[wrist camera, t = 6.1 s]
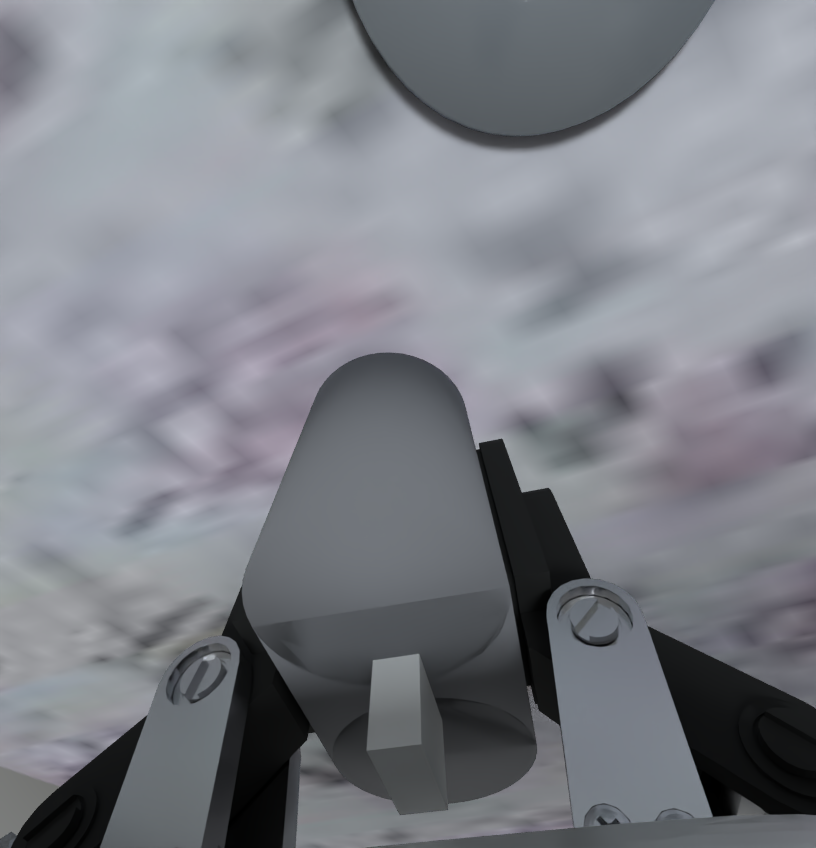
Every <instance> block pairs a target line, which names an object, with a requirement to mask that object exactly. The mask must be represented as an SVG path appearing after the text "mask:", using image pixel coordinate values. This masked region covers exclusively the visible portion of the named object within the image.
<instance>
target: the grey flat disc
mask: <svg viewBox="0 0 816 848" xmlns="http://www.w3.org/2000/svg"><path fill="white" fill-rule="evenodd" d="M352 1H353V3H354V6H355V8H356V11H357V14H358V16H359V18H360V20H361V22H362V24H363V26H364V28H365V30H366V32H367V34H368V36H369V38H370V40H371V42H372V43H373V45H374V46H375V48H376V49H377V51H378V52H379V54H380V55H381V57H382V58H383V60H384V61H385V63H386V64H387V66H388V67H389V68H390V70H391V71H392V72H393V73H394V74H395V75H396V77H397V78H398V79H399V80H400V81H401V82H402V84H403V85H404V86H405V87H406V88H407V89H408V90H409V91H410V92H412V93H413V94H414V95H415V96H416V97H417V98H418V99H419V100H421V101H422V102H423V103H424V104H425V105H427V106H428V107H430V108H431V109H433V110H434V111H436V112H437V113H439V114H440V115H442V116H443V117H445V118H447V119H449V120H451V121H453V122H455V123H457V124H460V125H462V126H464V127H466V128H469V129H473V130H476V131H480V132H483V133H487V134H493V135H501V136H509V137H516V136H536V135H541V134H546V133H552V132H557V131H560V130H563V129H566V128H569V127H572V126H574V125H577V124H580V123H583V122H586V121H588V120H590V119H592V118H594V117H596V116H598V115H600V114H602V113H604V112H606V111H608V110H610V109H612V108H613V107H615V106H616V105H618V104H619V103H621V102H622V101H624V100H625V99H627V98H628V97H630V96H631V95H633V94H634V93H635V92H636V91H638V90H639V89H640V88H641V87H642V86H644V85H645V84H646V83H647V82H648V81H649V80H651V79H652V78H653V77H654V76H655V75H656V74H657V73H658V72H659V71H660V70H661V69H662V68H663V67H664V66H665V65H666V64H667V63H668V62H669V61H670V60H671V59H672V58H673V57H674V56H675V55H676V54H677V53H678V51H679V50H680V49H681V47H682V46H683V45H684V44H685V42H686V41H687V40H688V39H689V37H690V36H691V35H692V33H693V32H694V31H695V30H696V28H697V27H698V26H699V24H700V23H701V21H702V20H703V18H704V16H705V15H706V13H707V12H708V10H709V9H710V7H711V6H712V4H713V2H714V1H715V0H352Z"/></svg>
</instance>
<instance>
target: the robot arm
mask: <svg viewBox="0 0 816 848" xmlns="http://www.w3.org/2000/svg"><path fill="white" fill-rule="evenodd" d="M479 448H480V449H479V450H476V452H477V456H478V460H479V464H480V468H481V472H482V477H483V481H484V485H485V489H486V493H487V497H488V501H489V505H490V509H491V513H492V517H493V521H494V526H495V530H496V534H497V538H498V542H499V546H500V550H501V554H502V558H503V562H504V566H505V570H506V574H507V579H508V583H509V587H510V593H511V598H512V604H513V610H514V616H515V622H516V627H517V633H518V639H519V645H520V651H521V657H522V662H523V668H524V674H525V680H526V686H530V685H531V688H532V693H533V697H534V701H535V704H537V705H538V709H539V711H540V712H542V713H543V714H545V715H546V716H547V717H549V718H550V719H552V720H553V721H554V722H556V723H557V724H559V725H560V728H561V735H562V743H563V751H564V758H565V766H566V774H567V781H568V789H569V797H570V804H571V812H572V820H573V827H574V828H568V829H557V830H547V831H536V832H525V833H514V834H504V835H493V836H482V837H471V838H461V839H450V840H439V841H429V842H419V843H408V844H398V845H388V846H378V847H368V848H816V709H815V708H814V707H812V706H810V705H809V704H807V703H805V702H804V701H802V700H799V699H797V698H795V697H793V696H791V695H789V694H787V693H785V692H783V691H781V690H779V689H777V688H775V687H773V686H770V685H768V684H766V683H764V682H762V681H760V680H758V679H756V678H754V677H752V676H750V675H748V674H746V673H744V672H742V671H739V670H737V669H735V668H733V667H731V666H729V665H727V664H725V663H723V662H721V661H719V660H717V659H715V658H713V657H710V656H708V655H706V654H704V653H702V652H700V651H698V650H696V649H694V648H692V647H690V646H688V645H686V644H684V643H682V642H679V641H677V640H675V639H673V638H671V637H669V636H667V635H665V634H663V633H661V632H659V631H657V630H655V629H653V628H650V627H648V626H647V624H646V621H645V618H644V615H643V612H642V611H641V609H640V607H639V605H638V603H637V601H636V600H635V599H634V598H633V597H632V596H631V595H630V594H629V593H627V592H626V591H625V590H623V589H622V588H620V587H618V586H616V585H615V584H613V583H609V582H606V581H603V580H600V579H591V578H590V575H589V573H588V571H587V569H586V567H585V564H584V562H583V560H582V558H581V556H580V553H579V551H578V549H577V547H576V544H575V542H574V540H573V538H572V536H571V533H570V531H569V529H568V527H567V525H566V522H565V520H564V518H563V516H562V513H561V511H560V509H559V507H558V505H557V502H556V500H555V498H554V496H553V494H552V492H551V490H550V489H549V488H545V489H540V490H534V491H529V492H523V493H522V492H521V490H520V487H519V484H518V481H517V478H516V475H515V473H514V470H513V467H512V464H511V461H510V459H509V456H508V453H507V450H506V447H505V444H504V442H503V439H498V440H493V441H487V442H482V443H479ZM313 732H315V731H314V729H313V728H312V726H311V724H310V723H309V721H308V719H307V718H306V716H305V714H304V713H303V711H302V709H301V708H300V706H299V704H298V703H297V701H296V699H295V698H294V696H293V694H292V693H291V691H290V689H289V688H288V686H287V684H286V683H285V681H284V679H283V678H282V676H281V674H280V673H279V671H278V669H277V668H276V666H275V664H274V663H273V661H272V659H271V658H270V656H269V654H268V653H267V651H266V649H265V648H264V646H263V644H262V643H261V641H260V639H259V638H258V636H257V634H256V633H255V631H254V629H253V628H252V626H251V624H250V622H249V620H248V618H247V616H246V612H245V609H244V606H243V599H242V587H241V589H240V592H239V594H238V597H237V599H236V602H235V604H234V607H233V609H232V611H231V614H230V616H229V619H228V621H227V624H226V626H225V629H224V631H223V634H222V636H214V637H208V638H206V639H203V640H201V641H199V642H196V643H195V644H193V645H192V646H190V647H189V648H187V649H186V650H184V651H183V652H182V653H181V654H180V655H179V656H178V657H177V658H176V659H175V660H174V661H173V662H172V663H171V665H170V666H169V667H168V668H167V670H166V671H165V673H164V675H163V677H162V679H161V681H160V683H159V685H158V688H157V690H156V693H155V696H154V699H153V702H152V704H151V707H150V710H149V713H148V715H147V716H146V717H144V718H143V719H142V720H141V721H140V722H138V723H137V724H136V725H135V726H134V727H132V728H131V729H130V730H129V731H127V732H126V733H125V734H124V735H123V736H121V737H120V738H119V739H118V740H117V741H115V742H114V743H113V744H112V745H110V746H109V747H108V748H107V749H106V750H104V751H103V752H102V753H101V754H100V755H98V756H97V757H96V758H95V759H93V760H92V761H91V762H90V763H89V764H87V765H86V766H85V767H84V768H83V769H81V770H80V771H79V772H78V773H76V774H75V775H74V776H73V777H72V778H70V779H69V780H68V781H67V782H66V783H64V784H63V785H62V786H61V787H59V789H57V790H56V791H55V792H54V793H52V794H51V795H50V796H49V797H48V798H47V799H46V800H45V801H44V802H43V803H42V804H41V805H40V806H39V807H38V808H37V809H36V810H35V811H34V813H33V814H32V815H31V816H30V818H29V819H28V820H27V821H26V822H25V824H24V825H23V827H22V828H21V830H20V832H19V833H18V835H15V834H14V833H13V832H10V833H8V834H7V835H5V836H4V837H2V838H0V848H296V832H297V815H298V798H299V781H300V764H301V751H300V747H301V746H302V745H303V744H304V743H305V741H306V740H307V737H308V733H313Z"/></svg>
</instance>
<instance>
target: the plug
mask: <svg viewBox="0 0 816 848" xmlns="http://www.w3.org/2000/svg"><path fill="white" fill-rule="evenodd" d="M242 599H243V606H244V609H245V612H246V616H247V618H248V620H249V622H250V624H251V626H252V628H253V629H254V631H255V633H256V634H257V636H258V638H259V639H260V641H261V643H262V644H263V646H264V648H265V649H266V651H267V653H268V654H269V656H270V658H271V659H272V661H273V663H274V664H275V666H276V668H277V669H278V671H279V673H280V674H281V676H282V678H283V679H284V681H285V683H286V684H287V686H288V688H289V689H290V691H291V693H292V694H293V696H294V698H295V699H296V701H297V703H298V704H299V706H300V708H301V709H302V711H303V713H304V714H305V716H306V718H307V719H308V721H309V723H310V724H311V726H312V728H313V729H314V731H315V732H316V734H317V736H318V737H319V739H320V741H321V742H322V744H323V746H324V747H325V749H326V751H327V752H328V754H329V756H330V757H331V759H332V761H333V762H334V764H335V766H336V767H337V769H338V770H339V772H340V773H341V774H342V775H343V776H344V777H345V778H346V779H347V780H348V781H349V782H351V783H352V784H353V785H355V786H357V787H358V788H360V789H362V790H364V791H366V792H368V793H371V794H373V795H376V796H379V797H382V798H386V799H390V800H392V801H393V803H394V805H395V807H396V809H397V811H398V812H399V814H400V815H405V814H414V813H424V812H433V811H443V810H448V804H449V803H458V802H465V801H470V800H474V799H478V798H482V797H485V796H488V795H491V794H494V793H497V792H499V791H501V790H503V789H505V788H507V787H509V786H511V785H512V784H514V783H515V782H517V781H518V780H519V779H521V778H522V777H523V776H524V775H525V774H526V773H527V772H528V771H529V769H530V768H531V767H532V765H533V763H534V761H535V759H536V754H537V744H536V738H535V732H534V726H533V721H532V715H531V709H530V703H529V697H528V692H527V686H526V680H525V674H524V668H523V662H522V657H521V651H520V645H519V639H518V633H517V627H516V622H515V616H514V610H513V604H512V598H511V593H510V587H509V583H508V579H507V574H506V570H505V566H504V562H503V558H502V554H501V550H500V546H499V542H498V538H497V534H496V530H495V526H494V521H493V517H492V513H491V509H490V505H489V501H488V497H487V493H486V489H485V485H484V481H483V477H482V472H481V468H480V464H479V460H478V456H477V452H476V448H475V444H474V440H473V436H472V432H471V428H470V423H469V419H468V415H467V411H466V407H465V404H464V401H463V398H462V396H461V394H460V392H459V390H458V389H457V387H456V386H455V384H454V383H453V382H452V381H451V380H450V378H449V377H448V376H447V375H445V374H444V373H443V372H442V371H441V370H440V369H438V368H437V367H435V366H434V365H432V364H430V363H428V362H426V361H424V360H422V359H419V358H417V357H414V356H410V355H406V354H400V353H376V354H370V355H366V356H362V357H359V358H357V359H354V360H352V361H350V362H348V363H346V364H344V365H343V366H341V367H340V368H338V369H337V370H336V371H335V372H333V373H332V374H331V375H330V376H329V377H328V378H327V380H326V381H325V382H324V383H323V385H322V386H321V388H320V389H319V391H318V393H317V396H316V398H315V400H314V403H313V405H312V407H311V410H310V412H309V415H308V417H307V420H306V422H305V425H304V427H303V430H302V432H301V435H300V437H299V439H298V442H297V444H296V447H295V449H294V452H293V454H292V457H291V459H290V462H289V464H288V467H287V469H286V471H285V474H284V476H283V479H282V481H281V484H280V486H279V489H278V491H277V494H276V496H275V499H274V501H273V503H272V506H271V508H270V511H269V513H268V516H267V518H266V521H265V523H264V526H263V528H262V530H261V533H260V535H259V538H258V540H257V543H256V545H255V548H254V550H253V553H252V555H251V558H250V560H249V562H248V565H247V567H246V571H245V574H244V578H243V584H242Z"/></svg>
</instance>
